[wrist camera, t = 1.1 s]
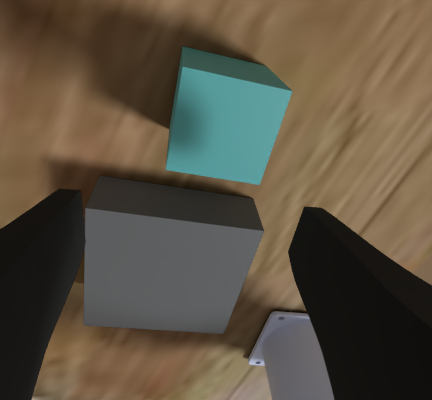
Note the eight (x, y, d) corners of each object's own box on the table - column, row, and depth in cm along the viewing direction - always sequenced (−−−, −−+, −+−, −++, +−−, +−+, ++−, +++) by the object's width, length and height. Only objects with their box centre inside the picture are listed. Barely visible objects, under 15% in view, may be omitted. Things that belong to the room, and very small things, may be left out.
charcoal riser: (253, 198, 22) (263, 231, 19) (219, 296, 27) (223, 333, 24) (99, 175, 20) (85, 207, 17) (94, 286, 25) (83, 325, 22)
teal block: (265, 65, 17) (292, 91, 13) (243, 142, 20) (259, 184, 15) (182, 46, 16) (182, 66, 12) (169, 129, 19) (165, 169, 15)
